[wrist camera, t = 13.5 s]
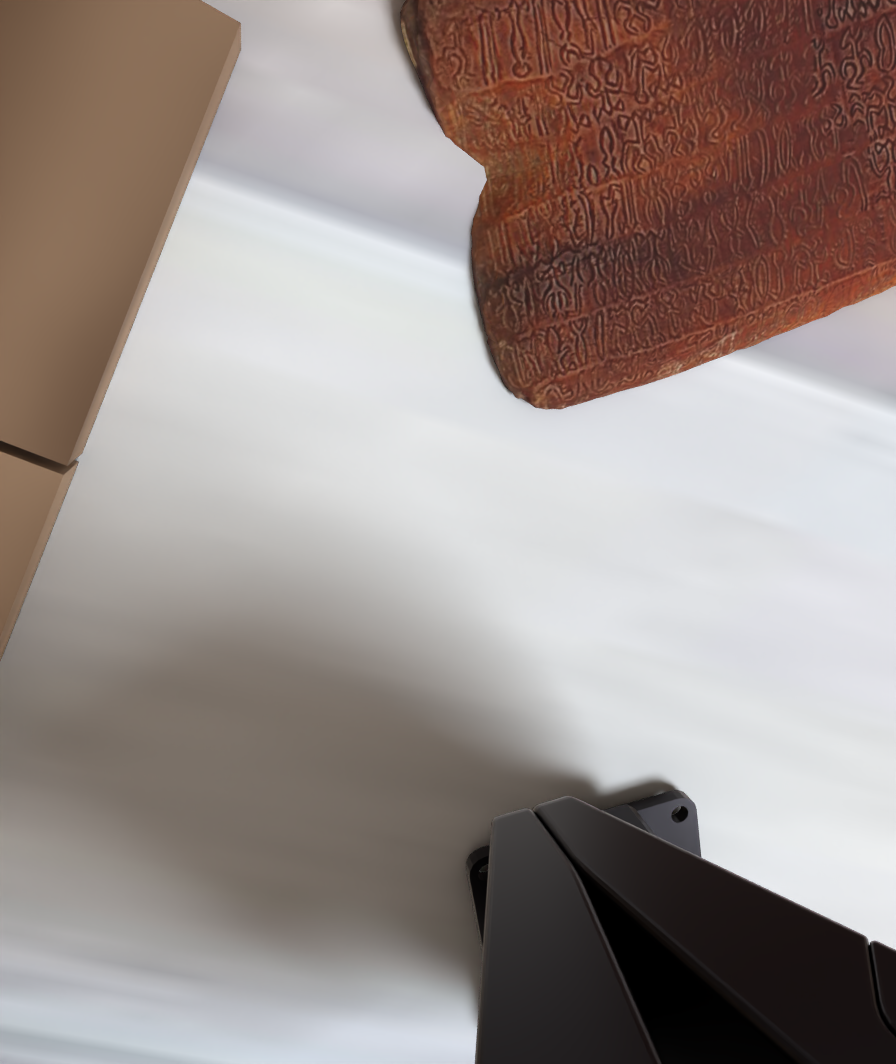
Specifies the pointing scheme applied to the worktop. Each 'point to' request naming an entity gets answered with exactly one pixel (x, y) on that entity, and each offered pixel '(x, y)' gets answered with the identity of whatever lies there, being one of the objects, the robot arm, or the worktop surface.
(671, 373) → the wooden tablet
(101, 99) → the weathered wooden board
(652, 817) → the robot arm
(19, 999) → the worktop surface
